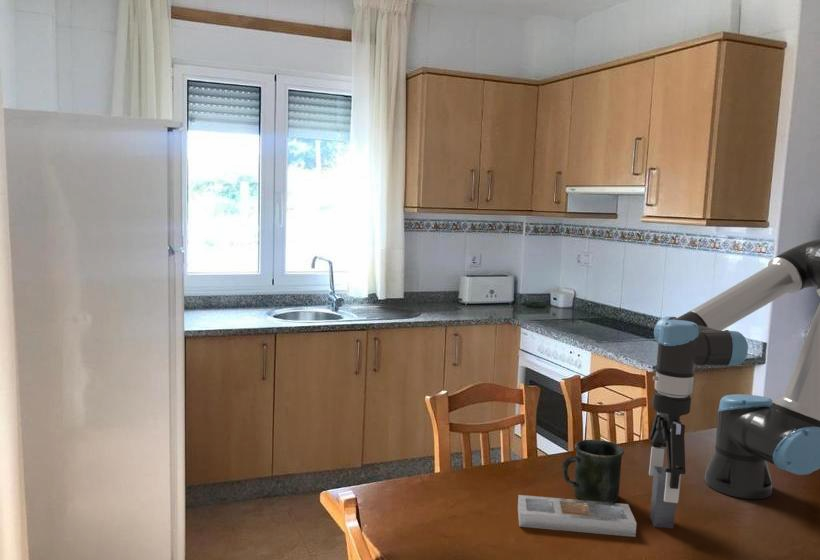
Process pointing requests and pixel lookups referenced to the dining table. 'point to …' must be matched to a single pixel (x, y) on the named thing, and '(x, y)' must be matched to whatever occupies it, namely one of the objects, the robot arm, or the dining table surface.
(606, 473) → the mug
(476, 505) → the dining table surface
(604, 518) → the white peg holder tray
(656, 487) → the steel peg
